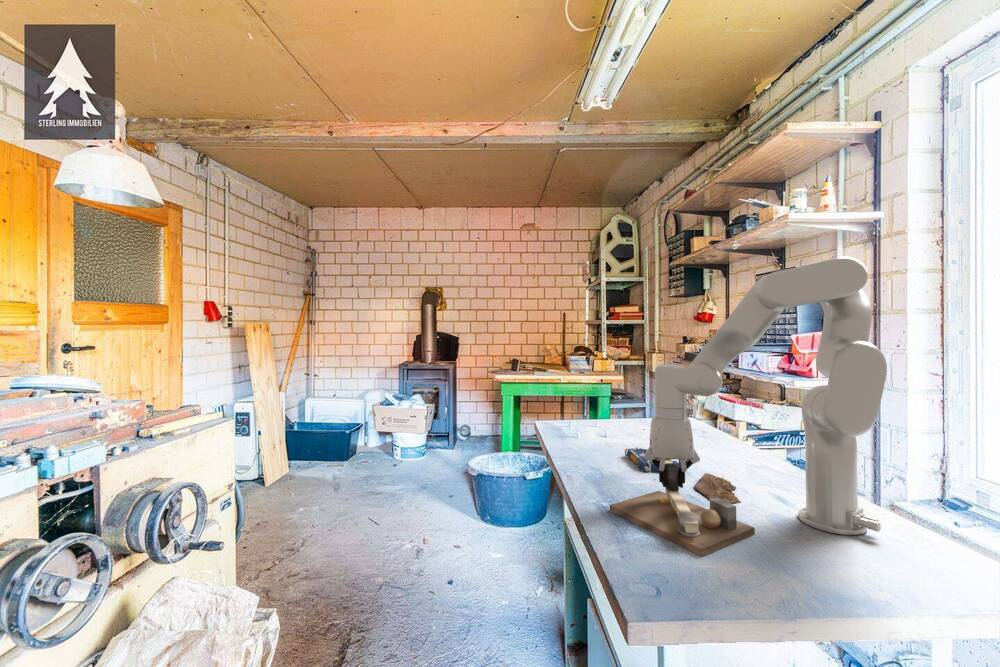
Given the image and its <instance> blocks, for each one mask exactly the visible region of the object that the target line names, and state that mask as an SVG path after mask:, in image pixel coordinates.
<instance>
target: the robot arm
mask: <svg viewBox="0 0 1000 667" xmlns="http://www.w3.org/2000/svg"><path fill="white" fill-rule="evenodd" d="M868 277H869V272H868V270H867V267H866V265H865V264H864V263H862V262H861V260H858V259H856V258H854V257H850V256H840V257H835V258H829V259H826V260H822V261H818V262H813V263H808V264H805V265H801V266H795V267H791V268H787V269H781V270H775V271H774V272H773V271H772V272H770V273H768V274H766V275H764V276H762V277H760V278H759V279H758V280H757V281H756V282H755V283H754V284H753V285H752V287H751V288H750V289H749V290H748V291H747V293H746V294H745V295H744V297H743V298H742V299H741V301H740V302H739V303H738V305H737V306H736V307H735V308H734V310H732V312H731V314H730V315H729V316H728V317H727V318H726V319H725V321H724V322H723V324H721V326H720V327H719V328H718V330H716V332H715V333H714V334H713V335H712V336H711V338H710V339H709V340H708V342H707V343H705V345H704V346H703V347H702V348H701V349H700V351H699V352H698V353H697V355H695V357H694V359H693V360H692V361H691V363H690V364H689V366H684V365H680V364H660V365H657V366H656V367H655V368H654V402H655V403H654V404H655V405H654V407H655V408H654V410H655V412H654V414H655V416H652V418H651V423H650V431H649V447H647V452H646V453H645V455H644V457H645V459H646V460H648V461H650V462H652V463H653V464H654V465H655V466H656V467H657V468H658V469H659V472H658V480H659V483H661V485H662V486H663V488H665V487H667V478H666V471H665V468H664V466H665V459H673V460H677V462H678V463H679V489H680V488H681V489H683V488H684V484H686V472H687V470H688V469H689V468H690V467H691V466H692V465H694V464H696V463H698V462H700V461H701V458H700V456H699V455H698V453H697V450H696V449H695V444H694V436H693V430H692V424H691V420H690V418H689V416H690V415H691V416H692V415H694V409H693V408H688V395H691V396H692V395H694V396H699V397H709V396H710V397H711V396H714V395H716V394H717V393H718V392H720V390H721V389H722V386H723V383H724V382H723V377H722V374H723V372H724V371H725V370H726V369H727V367H728V366H729V365H730V364H731V363H732V362H733V360H735V359H736V358H737V357H739V355H741V354H742V353H744V352H745V351H748V350H749V349H751V348H753V346H755V345H756V344H757V343H758V342H759V341H760V340H761V338H762V337H763V335H765V333H766V332H767V331H768V330H769V328H770V327H771V326H772V324H773V323H774V322H775V321H776V320H777V318H778V317H779V316H780V315H781V314H782V312H784V310H785V309H789V308H795V307H800V306H805V305H806V306H807V305H811V304H816V303H819V304H820V306H821V308H822V310H823V322H822V324H823V325H822V331H821V336H820V340H819V344H818V348H817V353H816V358H815V366H816V369H817V370H818V372H819V373H820V374H821V375H822V376H823V377H825V378H827V379H828V381H827V384H825V385H823V384H822V385H817V386H814V387H812V388H810V389H809V390H808V391H807V392H806V393H805V395H804V396H803V399H802V401H801V415H802V421H803V422H802V423H803V428H804V439H805V441H804V442H805V443H804V444H805V446H804V447H805V451H804V452H805V455H804V456H805V457H804V459H805V461H804V462H805V507H803V508H800V509H799V511H798V514H797V516H798V519H799V520H800V521H801V522H803V523H804V524H806V525H808V526H809V527H811V528H813V529H814V528H815V529H817V530H820V531H823V532H828V533H832V534H836V535H837V534H838V535H844V536H845V535H846V536H847V535H848V536H858V535H862V534H865V533H867V530H871V531H874V532H877V533H879V532H880V531H881V530H882V529H881V527H882V525H881V523H880V522H879V519H878V518H876V517H875V518H874V517H871V516H868V515H867V516H866V514H864V508H863V507H859V506H858V504H859V502H858V501H859V498H858V495H859V494H858V443H857V442H858V441H857V438H856V437H859V436H862V435H864V434H866V433H867V432H869V431H870V430H871V429H872V428H873V427H874V425H875V423H876V421H877V419H878V415H879V411H880V408H881V403H882V402H881V401H882V398H883V393H884V391H885V390H884V389H885V385H886V379H887V375H888V365H887V360H886V357H885V354H884V353H883V352H882V351H881V350H880V349H879V347H878V346H876V345H874V344H872V343H870V342H869V341H870V334H871V327H872V319H873V312H872V311H873V310H872V305H871V303H870V301H869V299H868V297H867V295H866V294H865V292H864V291H863V290H862V289H863V288H864V287H865V285H866V284H867V282H868V279H869V278H868ZM651 455H653V457H652V456H651ZM654 457H655V458H654ZM656 458H658V460H657V459H656Z"/></svg>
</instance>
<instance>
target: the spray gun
mask: <svg viewBox="0 0 1000 667" xmlns="http://www.w3.org/2000/svg"><path fill="white" fill-rule="evenodd" d="M647 450H648V448H647V449H645V448H642V447H641V448H639V446H636V447H633V448H632V447H631V448H629V447H627V448H625V449H624V455H625V457H627V456H628V458H629V459H630V460H631V461H632V462H633V463H634V464H635V466H637V465H638V466H637V467H638V468H639V469H640V470H641V471H642V470H644V471H643V472H648V471H649V472H651V473H653V472H652V471H655V472H654V473H659V469H658V468H657V467H656V466H655V465H654V464H653V463H652V462H650V461H648V460H646V459H645V457H644V455H645V453H646V452H647ZM651 456H652V457H653V455H651ZM654 458H655V457H654ZM656 459H657V460H658V458H656ZM667 463H673V464H677V465H678V466H679V461H678V460H674V459H665V464H667ZM664 468H665V466H664ZM649 472H648V473H649Z"/></svg>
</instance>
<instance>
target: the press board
mask: <svg viewBox="0 0 1000 667" xmlns="http://www.w3.org/2000/svg"><path fill="white" fill-rule="evenodd" d="M684 501H685V503H686V504H687V506H688V507H689V509H690V511H691V512H694V513H696V514H698V515H699V533H686V532H684V531H682V530H680V529H679V518H678V516H677V514H676V512H675V510H674V508H673V506H672V504H671V502H670V501H669V499H668V497H667V495H666V492H663V491H660V490H657V491H654V492H650V493H645V494H643V495H639V496H636V497H633V498H629V499H626V500H625V499H624V500H622V501H618V502H614V503H612V504H609V512H611V513H613V514H615V515H617V516H618V517H621V518H623V519H625V520H627V521H629V522H631V523H633V524H634V525H637V526H639V527H641V528H644V529H646V530H647V531H649V532H651V533H653V534H655V535H657V536H659V537H660V538H661V537H662V538H663V539H666V540H668V541H669V542H672V543H674V544H675V545H678V546H680V547H681V548H684V549H686V550H688V551H690V552H692V553H694V554H695V555H698V556H699V557H702V558H703V557H705V556H707V555H709V554H712V553H714V552H716V551H718V550H721V549H723V548H726V547H728V546H730V545H731V546H732V545H733V544H735V543H738V542H740V541H742V540H745V539H747V538H749V537H752V536H754V535H755V534H756V533H755V531H756V528H755V527H754V526H752V525H750V524H746V523H743V522H741V521H738V520H737V505H734V504H730V503H728V502H726V501H724V500H721V499H719V498H715V499H709V508H705V507H702V506H699V505H697V504H694V503H692V502H689V501H687V500H685V499H684Z"/></svg>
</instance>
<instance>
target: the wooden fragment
mask: <svg viewBox="0 0 1000 667" xmlns="http://www.w3.org/2000/svg"><path fill="white" fill-rule="evenodd" d="M693 489H695V490H696V491H697V492H699V493H701V494H702V495H704V496H705V497H706V498H708V499H709V500H710V499H715V498H719V499H721V500H724V501H726V502H728V503H730V504H733V505H734V504H739V503H741V502H742V501H740V499H738V498H739V497H737V496H736V495H735V493H734V492H733V491H735V490H736V489H737V487H736V486H735V485H733V484H732V483H731V481H730V480H729V481H728V480H727V479H725V478H723V477H719V476H715V475H713V474H711V473H708V472H704V474H703V475H702V477H701V478H699V480H698V481H697V482H696V484H695V485H693Z"/></svg>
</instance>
